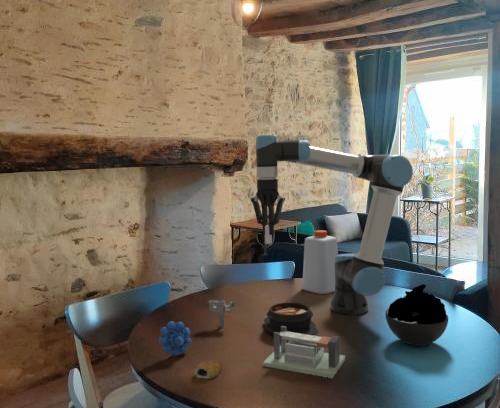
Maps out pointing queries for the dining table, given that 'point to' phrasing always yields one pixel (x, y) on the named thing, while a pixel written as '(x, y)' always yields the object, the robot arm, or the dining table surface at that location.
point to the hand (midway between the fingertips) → (268, 243)
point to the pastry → (208, 369)
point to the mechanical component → (220, 309)
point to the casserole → (290, 318)
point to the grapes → (175, 338)
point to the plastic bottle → (319, 263)
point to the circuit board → (319, 369)
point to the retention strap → (305, 338)
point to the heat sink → (305, 351)
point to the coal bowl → (417, 317)
